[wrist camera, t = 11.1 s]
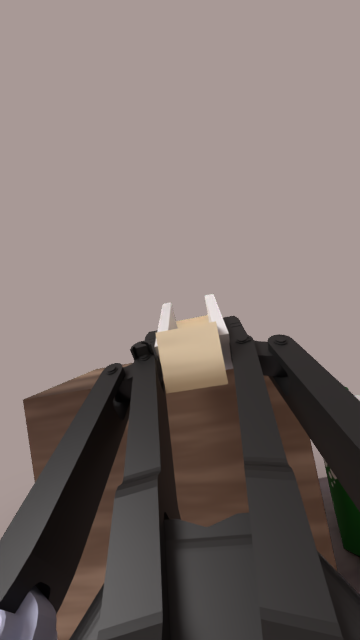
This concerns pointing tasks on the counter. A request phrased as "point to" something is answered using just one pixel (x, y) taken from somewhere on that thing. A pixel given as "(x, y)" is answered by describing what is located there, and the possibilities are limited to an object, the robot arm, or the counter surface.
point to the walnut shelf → (175, 469)
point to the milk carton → (345, 512)
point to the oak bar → (191, 355)
